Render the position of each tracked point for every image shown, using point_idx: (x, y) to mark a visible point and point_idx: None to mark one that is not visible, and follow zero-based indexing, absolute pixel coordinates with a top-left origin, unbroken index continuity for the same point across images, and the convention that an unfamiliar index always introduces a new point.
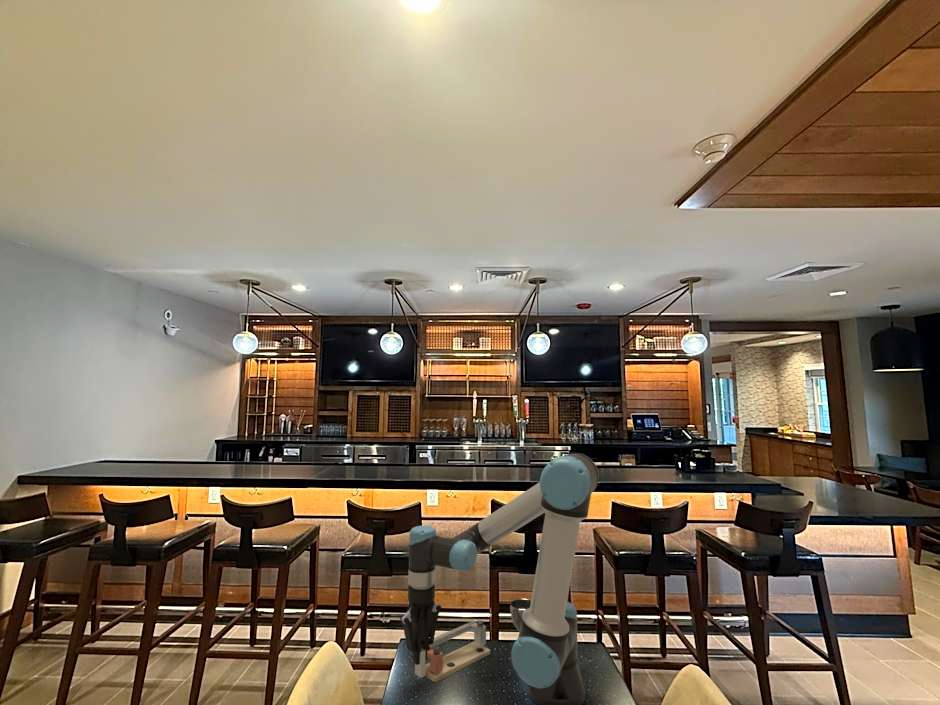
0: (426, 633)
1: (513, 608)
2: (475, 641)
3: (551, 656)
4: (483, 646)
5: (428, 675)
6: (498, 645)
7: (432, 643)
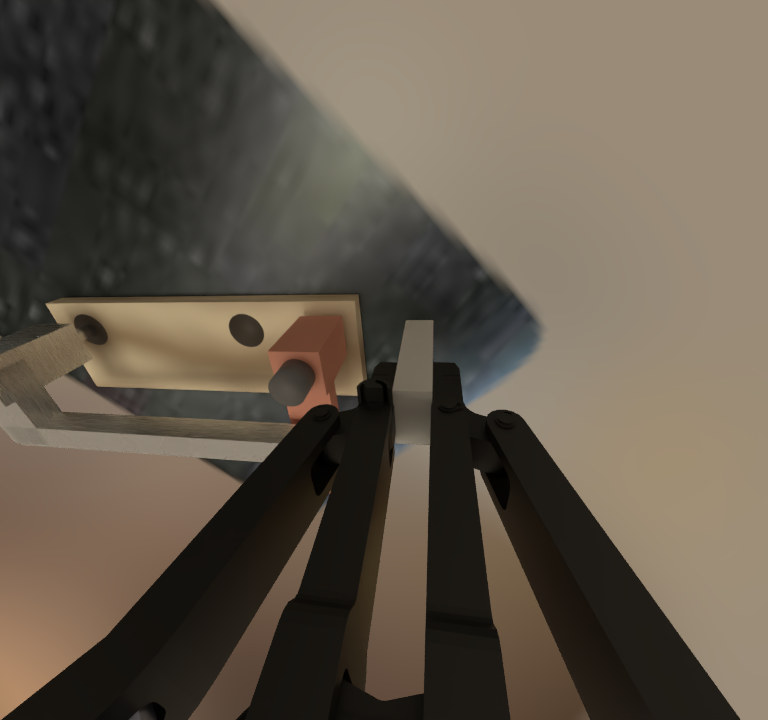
0: (360, 488)
1: None
2: (76, 357)
3: None
4: None
5: (360, 341)
6: (15, 319)
7: (320, 405)
